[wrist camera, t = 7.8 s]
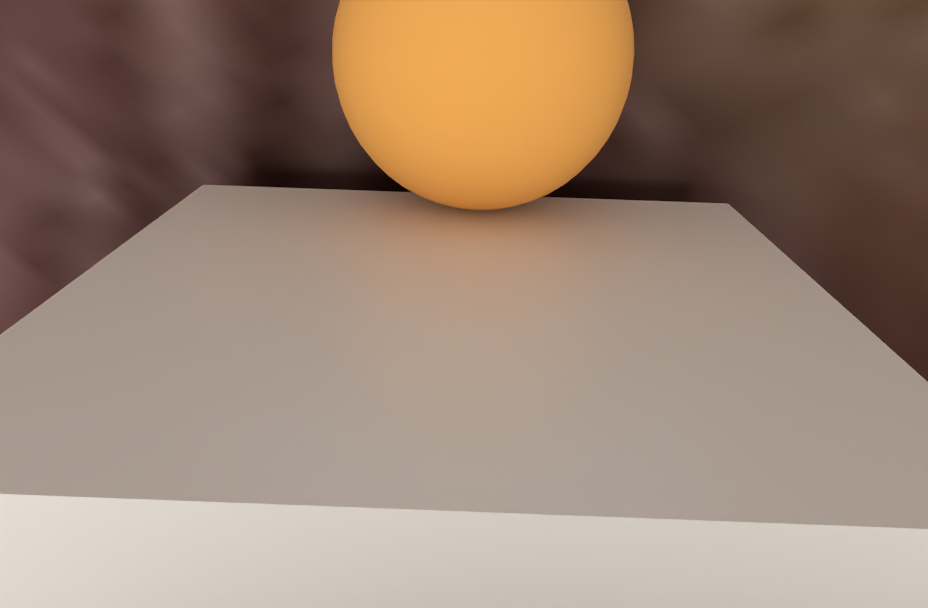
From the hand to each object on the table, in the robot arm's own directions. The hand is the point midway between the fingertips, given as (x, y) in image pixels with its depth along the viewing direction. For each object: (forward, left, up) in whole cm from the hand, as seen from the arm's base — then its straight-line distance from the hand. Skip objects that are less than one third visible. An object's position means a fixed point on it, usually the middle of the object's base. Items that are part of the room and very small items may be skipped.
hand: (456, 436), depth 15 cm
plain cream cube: (0, 0, -1) cm, 1 cm away
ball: (+8, 0, 0) cm, 8 cm away
